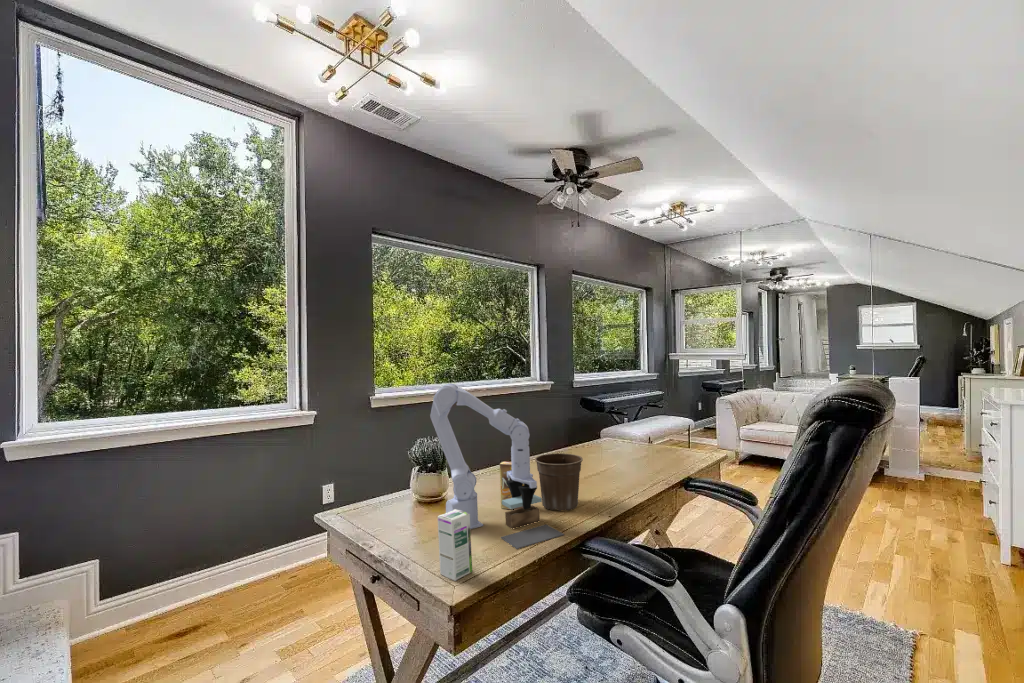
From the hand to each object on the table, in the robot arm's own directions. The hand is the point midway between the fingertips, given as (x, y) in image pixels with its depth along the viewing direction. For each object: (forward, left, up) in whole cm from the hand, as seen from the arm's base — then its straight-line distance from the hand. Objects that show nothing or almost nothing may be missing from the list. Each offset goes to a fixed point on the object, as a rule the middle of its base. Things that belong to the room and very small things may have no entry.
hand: (521, 505), depth 141 cm
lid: (0, 0, +1) cm, 1 cm away
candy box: (+5, +13, -6) cm, 15 cm away
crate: (0, 0, -5) cm, 5 cm away
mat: (-3, -10, -5) cm, 12 cm away
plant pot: (+19, +6, -6) cm, 21 cm away
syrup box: (-30, -17, -6) cm, 35 cm away
